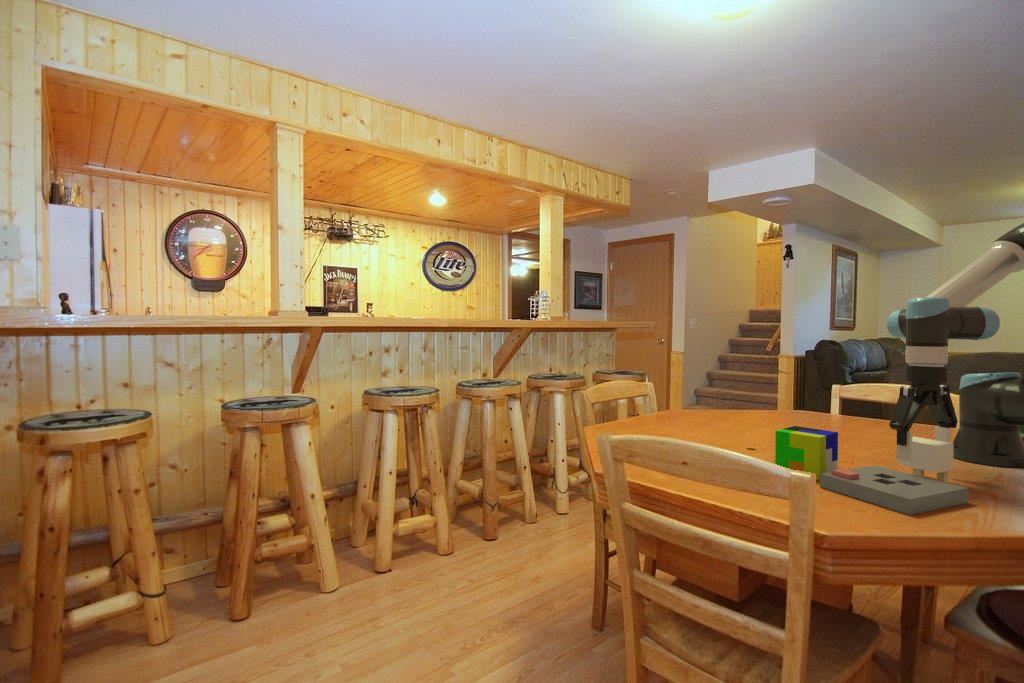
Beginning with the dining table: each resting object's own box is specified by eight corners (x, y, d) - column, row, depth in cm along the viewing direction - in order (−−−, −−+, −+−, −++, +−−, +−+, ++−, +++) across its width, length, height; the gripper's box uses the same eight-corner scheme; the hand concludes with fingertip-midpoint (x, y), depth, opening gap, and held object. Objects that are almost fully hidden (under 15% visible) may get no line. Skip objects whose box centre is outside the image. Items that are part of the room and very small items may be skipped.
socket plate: (875, 478, 117) (875, 461, 117) (968, 502, 100) (968, 483, 100) (820, 487, 110) (820, 469, 110) (909, 515, 94) (909, 493, 94)
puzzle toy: (837, 473, 121) (838, 432, 121) (819, 480, 116) (819, 437, 115) (794, 464, 129) (794, 425, 129) (775, 471, 124) (775, 430, 123)
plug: (913, 473, 120) (914, 436, 120) (952, 483, 113) (953, 443, 112) (897, 476, 118) (897, 438, 118) (935, 486, 111) (936, 445, 110)
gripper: (941, 363, 123) (938, 449, 123) (871, 364, 114) (869, 457, 114) (978, 365, 116) (976, 456, 116) (908, 367, 107) (905, 466, 107)
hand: (923, 457), depth 115 cm, fingers open, 13 cm apart
